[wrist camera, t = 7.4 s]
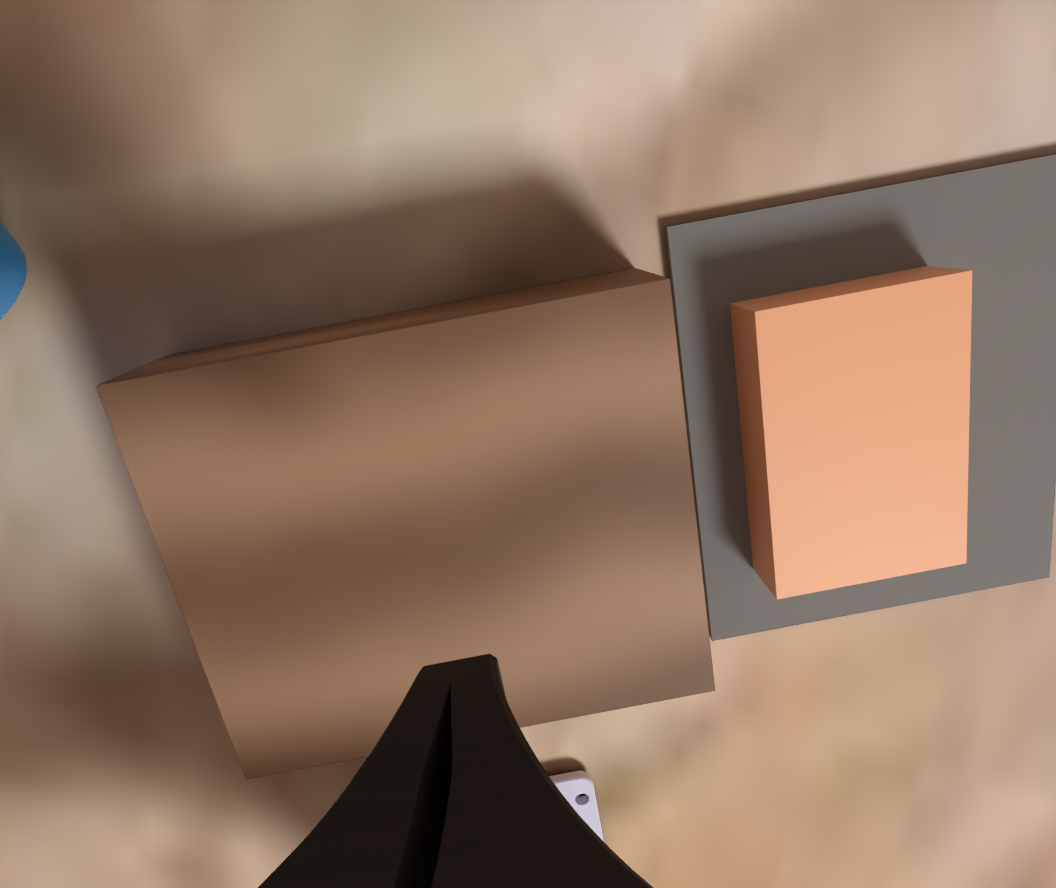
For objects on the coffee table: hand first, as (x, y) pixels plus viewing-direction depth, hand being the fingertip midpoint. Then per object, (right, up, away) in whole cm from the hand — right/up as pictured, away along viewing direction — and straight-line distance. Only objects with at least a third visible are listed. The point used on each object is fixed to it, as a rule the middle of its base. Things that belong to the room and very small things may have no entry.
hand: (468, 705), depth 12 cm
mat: (+12, +6, +10) cm, 17 cm away
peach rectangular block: (+11, +5, +8) cm, 14 cm away
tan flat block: (-2, +3, +10) cm, 10 cm away
